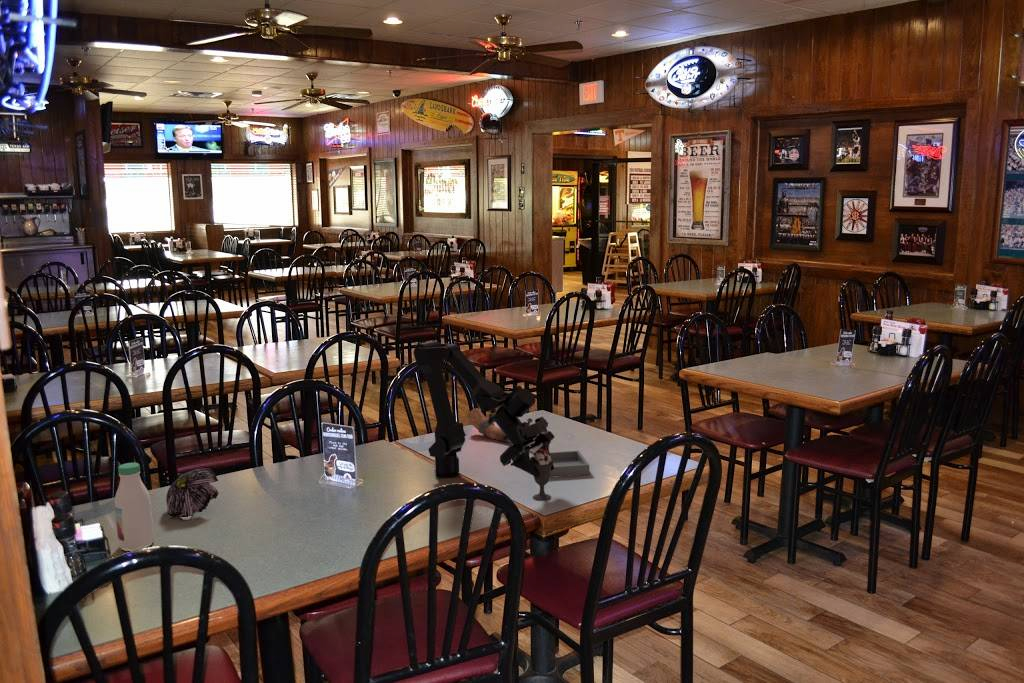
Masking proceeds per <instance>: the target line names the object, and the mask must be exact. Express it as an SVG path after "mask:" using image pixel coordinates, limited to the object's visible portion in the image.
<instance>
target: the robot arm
mask: <svg viewBox="0 0 1024 683" xmlns="http://www.w3.org/2000/svg"><path fill="white" fill-rule="evenodd" d="M413 357H414V360H415V362H416V365H417V367H418V369H419V370H421V372H422V373H423V374H424V375H425V378H426V382H427V386H428V390H429V395H430V399H431V403H432V407H433V411H434V415H435V419H436V424H435V430H434V439H435V440H434V441H435V442H433V443H432V444H431V446H430V447H428V450H427V451H428V454H429V457H433V458H434V474H435V475H434V476H435V478H436V477H437V479H439V478H438V477H442V478H453V477H459V473H460V459H459V456H458V455H457V453H460V452H462V448H463V446H464V444H465V443H466V436H467V434H466V433H465V429H464V424H463V422H458V421H457V420H456V419H455V417H454V415H453V410H452V406H451V403H450V402H451V401H450V398H449V394H448V390H447V385H446V382H445V381H446V380H445V377H444V374H443V367H444V363H445V361H446V362H447V363H448V364H449V365H450V366H451V367H452V369H453V371H455V372H456V373H457V374H458V375H459V377H460V378H461V379H462V381H463V382H464V383H465V385H467V386H468V388H469V389H470V390H471V392H472V397H473V399H474V401H475V403H476V405H477V406H478V408H479V410H480V411H481V410H482V411H483V412H490V411H492V410H493V411H494V410H496V409H497V410H496V411H495V412H491V413H489V414H488V424H492V423H494V424H496V425H497V427H498V428H500V429H501V430H502V432H503V433H504V434H505V437H504V438H503V439H504V440H505V441H504V442H507V441H506V440H509V441H508V442H509V443H510V444H511V445H510V446H508V447H507V448H506V449H505V450H504V452H502V453H501V454H500V455H499V462H500V463H501V465H503V467H506V466H508V465H510V466H511V467H515V468H517V469H519V470H522V471H524V472H525V473H528V474H530V475H531V476H533V477H534V476H535V477H537V478H538V477H539V476H540V474H539V472H538V470H537V469H536V467H535V466H534V464H533V462H532V461H531V459H530V450H533V451H534V453H533V454H532V456H534V455H535V454H536V453H537V452H538V451H539V449H542V448H543V451H544V450H546V449H547V451H548V455H549V456H550V453H549V452H550V444H551V443H552V441H553V439H555V435H554V434H553V432H552V431H550V430H548V429H547V428H548V427H549V422H548V421H547V420H546V418H544V416H540V417H538V418H535V420H534V423H530V425H528V423H527V422H528V421H527V422H526V421H524V422H522V420H520V418H522V417H524V415H525V414H526V413H528V411H530V409H531V408H533V406H534V405H535V404H536V401H537V400H536V397H535V395H534V393H533V392H531V391H529V390H528V389H526V388H523V386H521V385H516V386H515V387H514V388H513V389H512V391H511V392H510V393H509V392H506V391H504V390H503V389H502V388H501V387H500V386H499V385H498V384H496V383H495V382H493V381H491V380H489V379H487V378H486V377H485V376H484V375H483V374H482V373H481V372H480V371H479V370H478V368H477V367H476V366H475V365H474V364H473V363H472V362H471V360H470V359H469V358H468V357H467V356H466V354H465V353H464V352H463V351H462V350H461V347H460V346H459V345H458V344H456V343H455V344H453V343H451V344H450V343H440V342H439V341H437V340H431V341H426V342H421V343H418V344H417V345H415V347H414V349H413ZM545 442H547V444H546V443H545ZM544 445H545V446H544ZM550 457H551V456H550ZM551 460H552V459H551ZM552 470H554V465H553V464H552V465H551V471H552Z"/></svg>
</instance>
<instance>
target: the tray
mask: <svg viewBox="0 0 1024 683" xmlns="http://www.w3.org/2000/svg"><path fill="white" fill-rule="evenodd" d="M549 453H550V456H551V459H552V460H554V463H553V465H554V470H552V471H551V473H550V478H556V477H555V476H562V477H570V476H569V475H576V476H587V474H589V475H590V463H588V461H587V460H586V458H585V457H584V455H583V454H582V453H581V452H580V450H565V451H552V452H550V451H549Z"/></svg>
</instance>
